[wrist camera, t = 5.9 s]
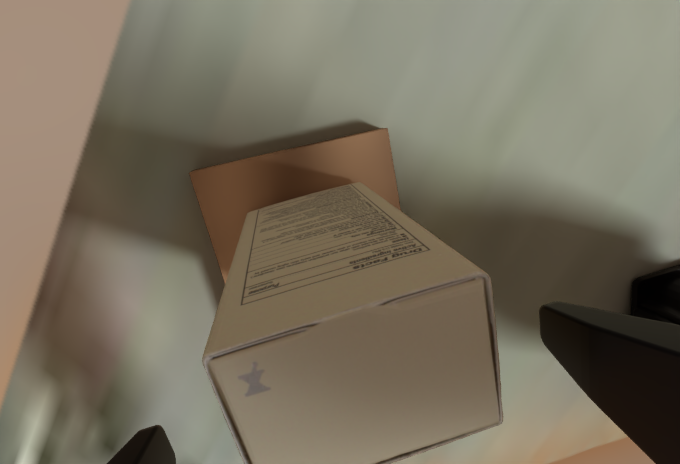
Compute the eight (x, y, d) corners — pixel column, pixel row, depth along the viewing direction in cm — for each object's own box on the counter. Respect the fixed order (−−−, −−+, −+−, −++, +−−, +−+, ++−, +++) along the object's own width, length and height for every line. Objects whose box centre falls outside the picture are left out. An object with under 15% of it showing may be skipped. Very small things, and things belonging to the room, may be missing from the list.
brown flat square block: (376, 128, 21) (387, 128, 19) (403, 287, 24) (415, 301, 22) (196, 168, 20) (188, 172, 18) (248, 330, 23) (246, 349, 21)
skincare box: (269, 286, 20) (248, 516, 8) (245, 209, 19) (178, 362, 7) (384, 254, 20) (513, 434, 9) (368, 177, 19) (496, 271, 7)
